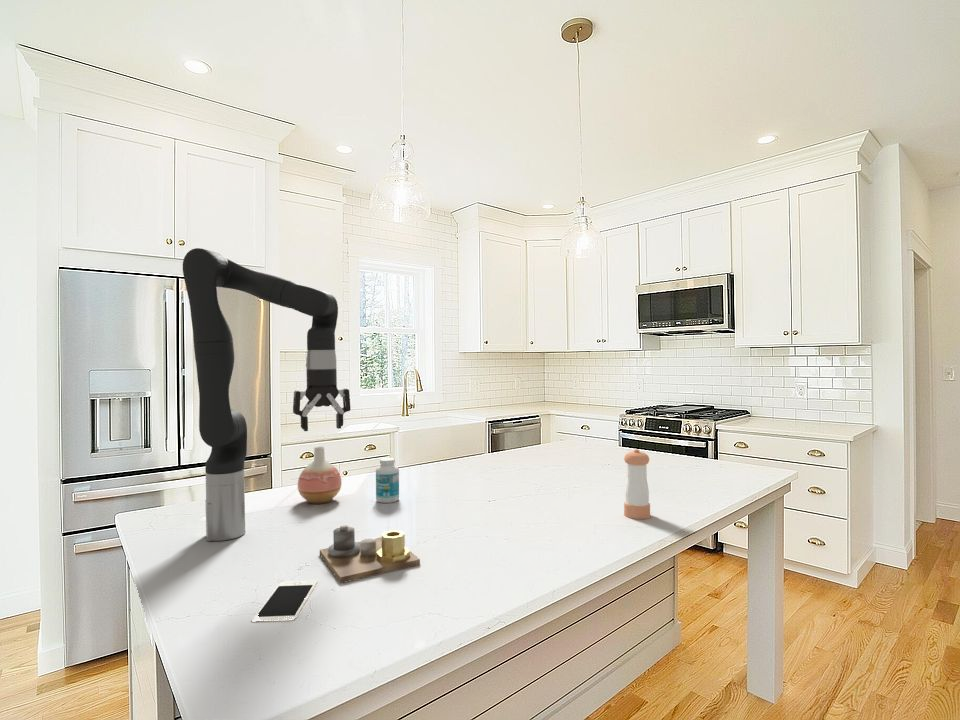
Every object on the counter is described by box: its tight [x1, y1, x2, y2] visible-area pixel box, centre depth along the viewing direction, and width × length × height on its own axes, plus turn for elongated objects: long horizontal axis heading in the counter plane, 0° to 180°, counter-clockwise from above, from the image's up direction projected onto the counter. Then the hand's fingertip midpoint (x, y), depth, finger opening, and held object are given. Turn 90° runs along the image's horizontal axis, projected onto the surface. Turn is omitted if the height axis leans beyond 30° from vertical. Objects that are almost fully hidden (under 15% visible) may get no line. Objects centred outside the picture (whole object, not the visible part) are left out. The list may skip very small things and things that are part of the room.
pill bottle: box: [375, 457, 400, 504], centre depth 170 cm, size 8×7×14 cm
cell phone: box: [256, 580, 318, 621], centre depth 102 cm, size 8×16×1 cm, turn 3°
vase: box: [297, 446, 343, 505], centre depth 170 cm, size 14×14×18 cm
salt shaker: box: [623, 448, 651, 520], centre depth 151 cm, size 7×7×19 cm
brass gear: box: [377, 529, 411, 563], centre depth 120 cm, size 7×7×5 cm
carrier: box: [319, 525, 421, 584], centre depth 121 cm, size 18×18×7 cm
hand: (322, 429), depth 136 cm, fingers open, 8 cm apart
